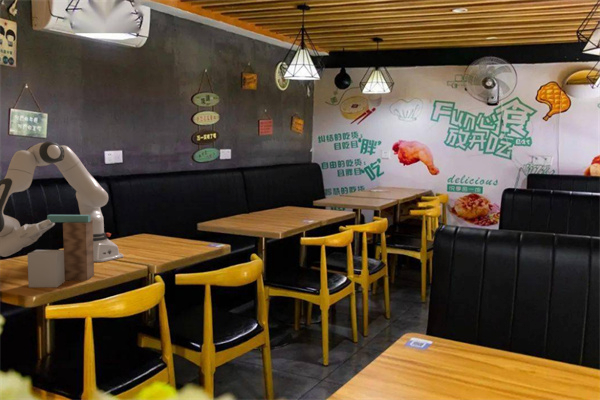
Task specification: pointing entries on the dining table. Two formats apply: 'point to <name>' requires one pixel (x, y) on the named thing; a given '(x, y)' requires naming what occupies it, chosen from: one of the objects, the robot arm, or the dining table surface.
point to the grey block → (46, 268)
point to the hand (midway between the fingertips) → (54, 219)
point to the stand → (78, 250)
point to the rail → (69, 218)
